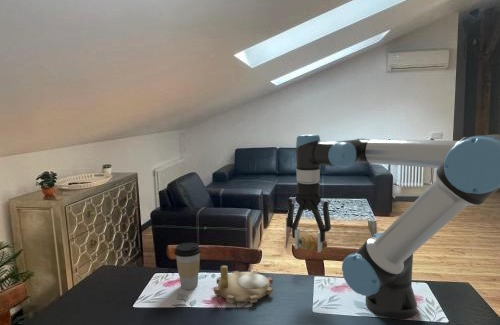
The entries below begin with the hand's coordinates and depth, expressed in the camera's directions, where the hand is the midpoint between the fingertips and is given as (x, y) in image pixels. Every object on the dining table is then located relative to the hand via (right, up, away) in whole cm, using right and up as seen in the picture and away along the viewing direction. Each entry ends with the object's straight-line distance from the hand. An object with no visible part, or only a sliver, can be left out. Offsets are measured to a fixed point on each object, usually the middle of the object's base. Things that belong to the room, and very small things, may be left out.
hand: (308, 249), depth 117 cm
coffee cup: (-42, -16, +10) cm, 46 cm away
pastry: (+1, 0, +3) cm, 3 cm away
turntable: (-22, -15, +5) cm, 27 cm away
